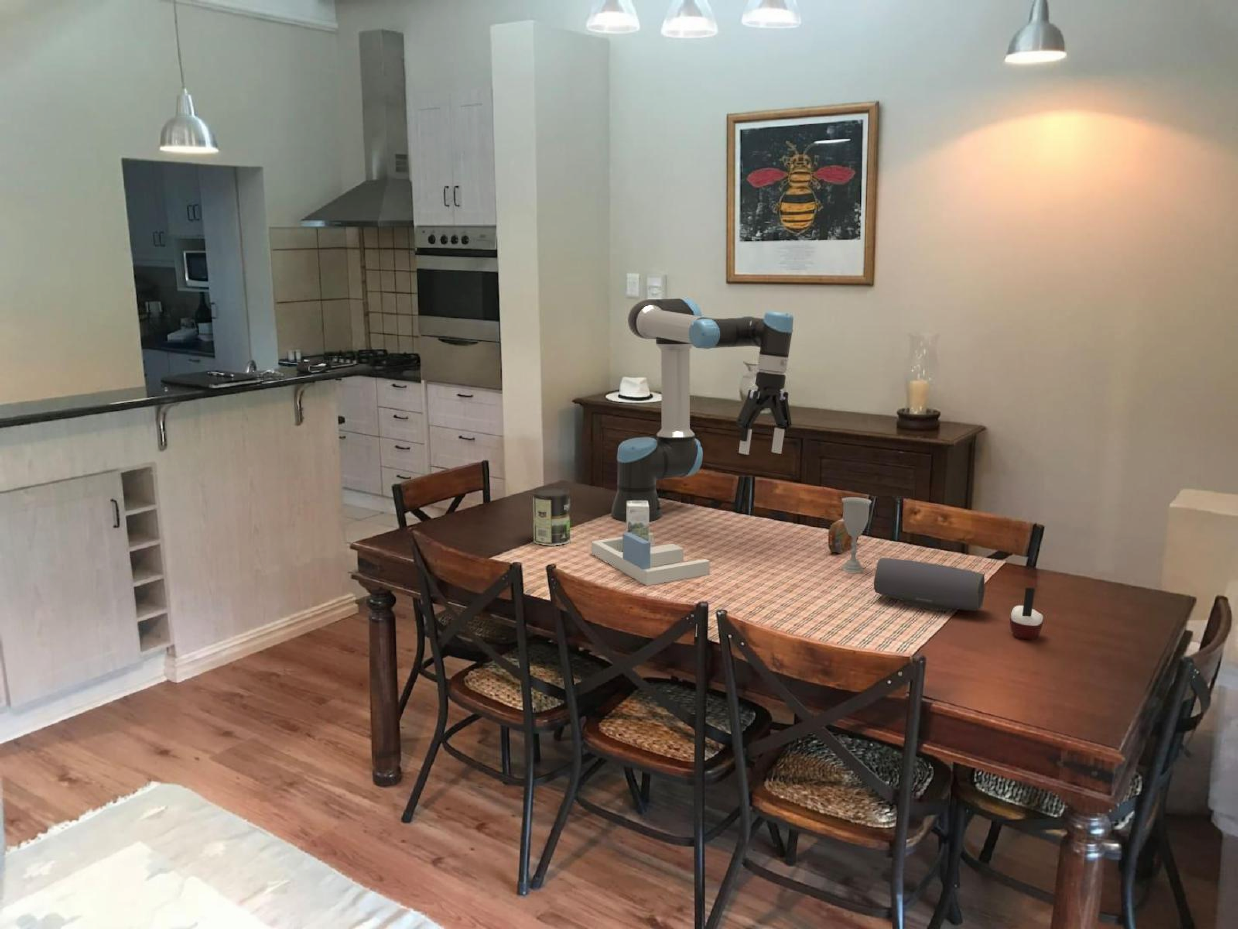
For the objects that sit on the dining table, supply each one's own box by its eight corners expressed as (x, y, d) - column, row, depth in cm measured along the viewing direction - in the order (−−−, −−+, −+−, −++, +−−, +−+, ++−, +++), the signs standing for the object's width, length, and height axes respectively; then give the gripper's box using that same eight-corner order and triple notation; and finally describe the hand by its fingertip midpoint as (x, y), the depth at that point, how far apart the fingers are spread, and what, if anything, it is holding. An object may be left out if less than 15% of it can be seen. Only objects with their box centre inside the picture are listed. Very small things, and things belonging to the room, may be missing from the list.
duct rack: (591, 554, 262) (591, 517, 259) (649, 544, 270) (650, 509, 268) (647, 585, 237) (647, 545, 235) (709, 574, 245) (710, 535, 243)
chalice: (834, 571, 248) (838, 501, 244) (842, 564, 254) (845, 496, 250) (863, 575, 245) (867, 505, 241) (870, 568, 251) (874, 499, 247)
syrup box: (647, 552, 263) (647, 499, 260) (648, 559, 258) (649, 505, 255) (625, 552, 263) (626, 499, 260) (626, 559, 257) (627, 505, 254)
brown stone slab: (836, 557, 260) (837, 526, 259) (825, 554, 262) (826, 524, 260) (859, 544, 272) (861, 514, 270) (849, 542, 274) (850, 512, 272)
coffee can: (571, 536, 278) (571, 487, 275) (569, 546, 268) (568, 496, 265) (535, 535, 278) (534, 487, 276) (531, 546, 268) (530, 495, 265)
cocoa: (1017, 629, 212) (1021, 574, 210) (1047, 635, 207) (1052, 580, 206) (1000, 639, 205) (1004, 583, 203) (1030, 646, 201) (1035, 589, 199)
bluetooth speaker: (983, 609, 222) (987, 566, 220) (975, 622, 215) (979, 578, 213) (883, 591, 234) (885, 551, 232) (871, 603, 226) (874, 561, 224)
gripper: (752, 372, 244) (740, 456, 247) (811, 375, 261) (800, 455, 264) (729, 368, 249) (718, 451, 252) (789, 372, 266) (778, 449, 270)
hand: (760, 453), depth 258 cm, fingers open, 13 cm apart
